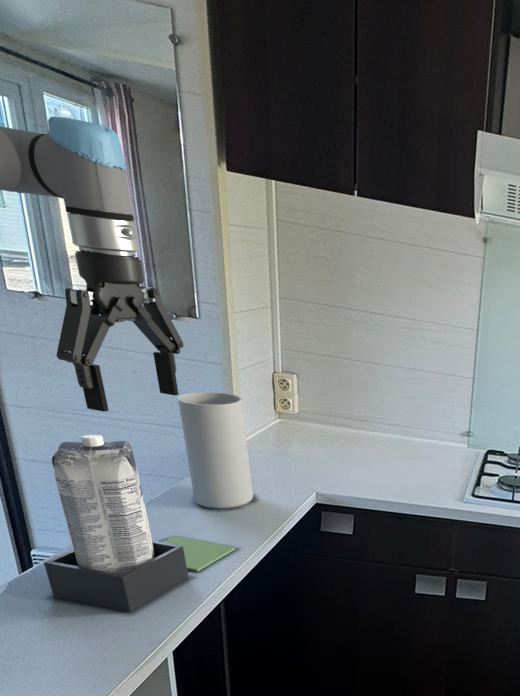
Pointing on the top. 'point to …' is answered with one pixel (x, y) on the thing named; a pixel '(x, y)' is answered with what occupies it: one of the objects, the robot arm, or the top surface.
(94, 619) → the top surface
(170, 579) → the box
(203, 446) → the cylinder vase
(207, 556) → the placemat
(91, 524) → the juice carton
